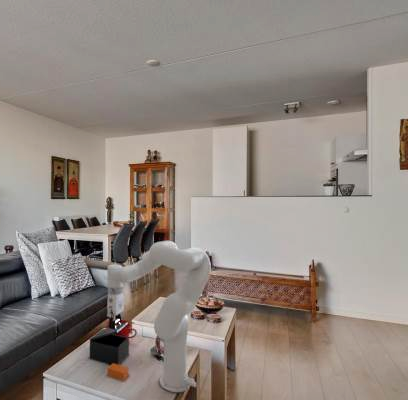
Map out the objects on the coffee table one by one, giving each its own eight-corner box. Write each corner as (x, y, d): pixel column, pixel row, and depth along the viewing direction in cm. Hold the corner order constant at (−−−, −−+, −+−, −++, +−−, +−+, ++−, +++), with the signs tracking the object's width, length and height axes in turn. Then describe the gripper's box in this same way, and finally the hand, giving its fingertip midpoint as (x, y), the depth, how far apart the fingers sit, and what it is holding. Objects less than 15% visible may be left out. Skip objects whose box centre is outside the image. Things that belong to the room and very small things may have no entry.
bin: (128, 355, 157) (128, 337, 157) (118, 366, 146) (118, 348, 146) (101, 348, 165) (102, 331, 165) (89, 358, 153) (89, 340, 153)
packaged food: (175, 352, 160) (175, 343, 160) (164, 362, 151) (164, 352, 151) (160, 348, 166) (160, 338, 166) (149, 356, 156) (149, 347, 156)
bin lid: (128, 323, 158) (124, 314, 159) (117, 332, 147) (113, 322, 148) (102, 331, 165) (99, 322, 166) (90, 340, 153) (86, 331, 154)
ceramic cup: (132, 351, 162) (132, 332, 162) (102, 344, 169) (103, 326, 169) (140, 341, 173) (140, 323, 173) (112, 335, 180) (112, 318, 180)
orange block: (128, 375, 139) (128, 367, 139) (123, 381, 135) (123, 372, 135) (112, 370, 143) (112, 363, 143) (107, 376, 138) (107, 368, 138)
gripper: (114, 295, 145) (114, 334, 145) (129, 286, 160) (129, 321, 160) (100, 293, 148) (100, 331, 148) (116, 285, 164) (116, 319, 163)
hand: (115, 325), depth 154 cm, fingers closed on bin lid, 6 cm apart
